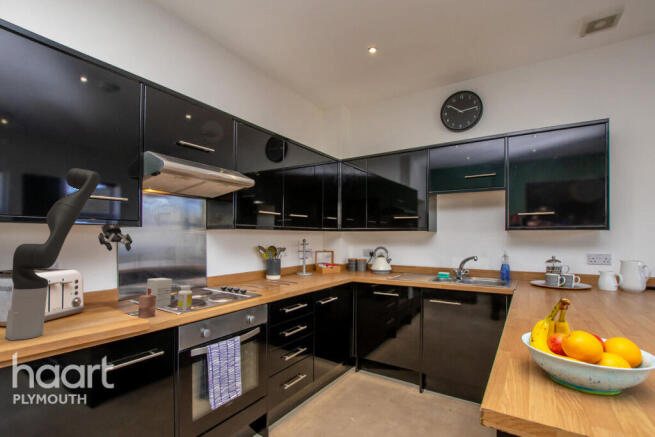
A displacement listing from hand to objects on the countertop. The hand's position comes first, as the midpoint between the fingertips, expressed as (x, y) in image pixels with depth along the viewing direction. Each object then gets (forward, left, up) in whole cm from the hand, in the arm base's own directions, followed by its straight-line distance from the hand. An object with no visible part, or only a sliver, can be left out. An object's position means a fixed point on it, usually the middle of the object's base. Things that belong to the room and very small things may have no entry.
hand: (120, 249), depth 157 cm
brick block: (+3, -22, -31) cm, 38 cm away
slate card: (+3, -12, -31) cm, 33 cm away
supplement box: (+21, -2, -31) cm, 37 cm away
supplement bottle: (+22, -23, -31) cm, 44 cm away
